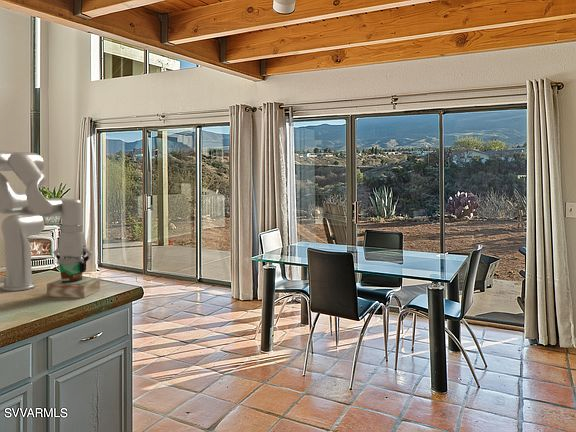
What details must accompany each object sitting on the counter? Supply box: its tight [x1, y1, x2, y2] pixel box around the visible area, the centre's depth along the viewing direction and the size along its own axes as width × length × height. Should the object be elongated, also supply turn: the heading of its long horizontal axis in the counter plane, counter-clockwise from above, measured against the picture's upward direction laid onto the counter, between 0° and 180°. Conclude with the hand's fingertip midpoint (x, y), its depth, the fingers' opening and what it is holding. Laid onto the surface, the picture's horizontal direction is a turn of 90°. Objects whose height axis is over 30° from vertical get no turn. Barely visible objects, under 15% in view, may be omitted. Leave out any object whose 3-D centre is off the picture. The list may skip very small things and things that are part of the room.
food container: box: [57, 257, 83, 283], centre depth 191 cm, size 12×6×10 cm, turn 169°
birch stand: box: [46, 277, 101, 299], centre depth 192 cm, size 16×12×5 cm
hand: (73, 271), depth 191 cm, fingers open, 7 cm apart
